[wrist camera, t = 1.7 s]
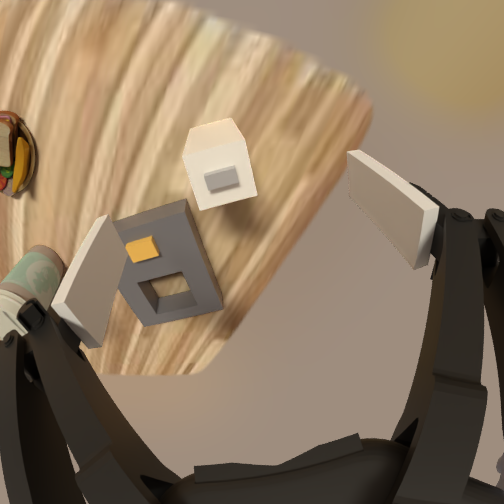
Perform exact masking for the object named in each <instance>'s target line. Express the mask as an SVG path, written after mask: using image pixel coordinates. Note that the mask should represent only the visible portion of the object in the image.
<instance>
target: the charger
mask: <svg viewBox="0 0 504 504" xmlns="http://www.w3.org/2000/svg"><path fill="white" fill-rule="evenodd" d="M182 158H183V161H184V164H185V167H186V170H187V173H188V176H189V179H190V182H191V186H192V189H193V192H194V195H195V198H196V200H197V203H198V206H199V209H200V211H201V210H205V209H208V208H212V207H216V206H219V205H223V204H227V203H230V202H234V201H238V200H242V199H246V198H250V197H254V196H258V195H257V191H256V186H255V182H254V177H253V173H252V169H251V164H250V160H249V155H248V151H247V147H246V142H245V139H244V137H243V136H242V134H241V132H240V131H239V129H238V128H237V126H236V124H235V123H234V121H233V120H232V118H227V119H223V120H219V121H215V122H212V123H208V124H204V125H201V126H197V127H194V128H190V131H189V134H188V137H187V141H186V144H185V148H184V151H183V155H182Z"/></svg>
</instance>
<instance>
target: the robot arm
mask: <svg viewBox="0 0 504 504" xmlns="http://www.w3.org/2000/svg"><path fill="white" fill-rule="evenodd" d="M347 163H348V179H349V197H350V198H351V199H352V200H353V201H354V202H355V203H356V204H357V206H358V207H359V208H360V209H361V210H362V211H363V212H364V213H365V214H366V215H367V216H368V217H369V218H370V219H371V220H372V222H373V223H374V224H375V225H376V226H377V227H378V228H379V229H380V230H381V232H382V233H383V234H384V235H385V236H386V237H387V238H388V240H389V241H390V242H391V243H392V244H393V245H394V247H395V248H396V249H397V250H398V251H399V253H400V254H401V255H402V256H403V257H404V259H405V260H406V261H407V262H408V263H409V265H410V266H411V267H412V268H413V270H415V269H418V268H421V267H423V266H426V265H428V262H429V257H430V253H431V254H432V255H433V256H434V257H435V258H436V260H435V264H434V268H433V271H432V275H431V278H430V279H431V280H433V281H432V289H431V297H430V304H429V311H428V317H427V323H426V328H425V333H424V338H423V343H422V348H421V352H420V357H419V361H418V365H417V369H416V373H415V376H414V380H413V384H412V387H411V391H410V394H409V397H408V400H407V403H406V406H405V409H404V412H403V414H402V417H401V418H400V420H399V422H398V424H397V426H396V429H395V431H394V433H393V436H392V438H391V440H390V441H389V440H385V439H377V438H370V439H369V438H366V439H360V437H359V434H358V433H356V434H353V435H351V436H347V437H344V438H341V439H338V440H335V441H332V442H329V443H325V444H322V445H318V446H316V447H314V448H313V449H311V450H309V451H307V452H305V453H303V454H301V455H299V456H297V457H295V458H293V459H291V460H289V461H286V462H284V463H282V464H280V465H276V466H269V465H252V464H240V463H226V464H215V465H203V466H194V474H191V475H189V476H187V477H184V478H183V479H181V478H180V477H179V476H178V475H176V474H175V473H174V472H172V471H171V470H169V469H168V468H167V467H165V466H164V465H163V464H162V463H161V462H160V461H159V460H158V459H157V457H156V456H155V455H154V454H153V453H152V451H151V450H150V449H149V448H148V447H147V445H146V444H145V443H144V442H143V441H142V439H141V438H140V437H139V436H138V434H137V433H136V432H135V431H134V429H133V428H132V427H131V425H130V424H129V422H128V421H127V420H126V418H125V417H124V416H123V414H122V413H121V411H120V410H119V409H118V407H117V406H116V404H115V403H114V401H113V400H112V398H111V397H110V395H109V394H108V392H107V391H106V389H105V388H104V386H103V385H102V383H101V381H100V380H99V378H98V376H97V375H96V373H95V371H94V370H93V368H92V366H91V364H90V363H89V361H88V359H87V357H86V356H85V354H84V352H83V351H82V350H81V349H80V348H79V345H80V342H81V341H82V342H83V343H84V344H85V345H86V346H87V347H88V349H91V348H98V347H102V344H103V340H104V336H105V332H106V328H107V324H108V320H109V316H110V312H111V309H112V305H113V301H114V298H115V294H116V291H117V288H118V284H119V281H120V278H121V275H122V272H123V268H124V265H125V262H126V259H127V256H128V252H127V250H126V248H125V246H124V244H123V242H122V241H121V239H120V237H119V235H118V233H117V231H116V229H115V227H114V225H113V223H112V221H111V219H110V217H109V215H108V214H107V215H104V216H101V217H99V218H97V219H96V221H95V222H94V224H93V226H92V227H91V229H90V231H89V232H88V234H87V236H86V237H85V239H84V241H83V243H82V244H81V246H80V248H79V250H78V252H77V253H76V255H75V257H74V259H73V261H72V263H71V265H70V267H69V268H68V270H67V272H66V274H65V276H64V277H63V278H62V280H61V282H60V284H59V286H58V288H57V290H56V292H55V294H54V296H53V298H52V300H51V303H50V305H49V307H48V309H47V311H46V310H45V309H44V307H43V306H42V305H41V304H40V302H39V301H38V300H37V299H36V298H31V299H29V300H28V301H26V302H25V303H24V304H23V305H22V306H21V308H20V309H19V311H18V313H17V317H16V319H17V320H18V321H19V323H20V324H21V325H22V326H23V327H24V328H25V329H26V330H27V332H28V333H27V334H25V335H23V336H21V335H20V334H19V332H18V331H17V330H15V329H13V330H11V331H10V332H8V333H7V334H6V335H5V336H4V338H3V341H2V340H0V454H1V462H2V468H3V474H4V480H5V485H6V489H7V494H8V498H9V502H10V504H86V502H85V499H84V497H85V498H86V500H87V501H88V503H89V504H504V453H503V455H502V456H501V457H500V458H499V460H498V462H497V466H496V468H497V471H498V472H499V473H501V475H500V479H499V481H498V483H497V485H496V487H495V486H492V485H490V484H487V483H484V482H482V481H479V480H477V479H474V478H472V477H469V475H470V472H471V469H472V466H473V462H474V459H475V455H476V452H477V448H478V444H479V440H480V436H481V431H482V426H483V421H484V416H485V411H486V405H487V393H488V392H487V388H486V387H485V386H483V385H481V369H482V359H483V344H484V305H485V309H486V313H487V317H488V321H489V326H490V330H491V335H492V339H493V345H494V350H495V356H496V362H497V369H498V377H499V387H500V397H501V415H502V430H503V436H504V212H503V211H500V210H499V209H493V208H492V209H488V210H487V211H486V214H485V219H474V218H473V216H472V215H471V214H470V213H468V212H466V211H465V210H462V209H458V208H452V209H448V208H447V207H446V206H445V205H443V204H442V203H441V202H440V201H438V200H437V199H436V198H434V197H432V195H430V194H429V193H427V192H426V191H425V190H424V189H423V188H421V187H420V186H418V185H415V184H413V183H408V182H407V181H405V180H404V179H402V178H401V177H400V176H398V175H396V174H395V173H394V172H392V171H391V170H390V169H388V168H387V167H385V166H384V165H382V164H381V163H379V162H378V161H376V160H374V159H373V158H372V157H370V156H368V155H367V154H365V153H364V152H362V151H361V150H354V151H347ZM66 442H67V443H66ZM67 444H68V446H69V448H70V450H71V452H72V454H73V456H74V458H75V460H76V462H77V464H78V465H79V468H80V471H79V472H77V473H76V474H75V471H74V468H73V465H72V462H71V458H70V454H69V451H68V447H67ZM82 493H83V494H82ZM83 495H84V497H83Z"/></svg>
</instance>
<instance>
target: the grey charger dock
mask: <svg viewBox="0 0 504 504" xmlns="http://www.w3.org/2000/svg"><path fill="white" fill-rule="evenodd" d="M112 223H113V225H114V227H115V229H116V231H117V233H118V235H119V237H120V239H121V241H122V242H123V244H124V246H125V248H126V250H127V252H128V256H127V259H126V262H125V265H124V268H123V272H122V275H121V278H120V281H119V284H118V289H119V291H120V292H121V294H122V295H123V297H124V298H125V300H126V301H127V303H128V304H129V306H130V307H131V309H132V310H133V312H134V313H135V314H136V316H137V317H138V319H139V320H140V321H141V323H142V324H143V326H144V327H146V326H150V325H155V324H160V323H165V322H170V321H174V320H179V319H183V318H188V317H192V316H197V315H201V314H205V313H210V312H214V311H218V310H222V309H223V302H222V293H221V290H220V288H219V285H218V283H217V280H216V278H215V275H214V272H213V270H212V267H211V265H210V262H209V259H208V257H207V254H206V252H205V249H204V246H203V244H202V241H201V238H200V236H199V233H198V230H197V227H196V225H195V222H194V219H193V216H192V214H191V211H190V208H189V205H188V202H187V200H186V199H183V200H180V201H176V202H173V203H170V204H167V205H163V206H160V207H157V208H154V209H151V210H148V211H145V212H142V213H139V214H136V215H133V216H130V217H127V218H124V219H121V220H118V221H115V222H112ZM180 271H182V273H183V275H184V277H185V279H186V281H187V283H188V286H189V288H190V291H186V292H182V293H178V294H174V295H169V296H165V297H161V298H158V296H157V294H156V293H155V291H154V289H153V287H152V286H151V284H150V282H149V280H150V279H153V278H157V277H161V276H165V275H169V274H173V273H176V272H180Z"/></svg>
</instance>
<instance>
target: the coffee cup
mask: <svg viewBox="0 0 504 504" xmlns="http://www.w3.org/2000/svg"><path fill="white" fill-rule="evenodd" d="M62 274H63V264H62V261H61V259H60V258H59V256H58V255H57V254H56V253H55V252H54V251H53V250H52V249H50V248H48V247H46V246H43V245H37V246H34V247H32V248H31V249H30V251H29V252H28V253H27V254H26V255H25V256H24V257H23V258H22V259H21V260H20V261H19V262H18V264H17V265H16V266H15V267H14V268H13V269H12V270H11V272H10V273H9V274H8V275H7V276H6V277H5V279H4V280H3V281H2V282H1V283H0V339H1V340H2V341H3V338H4V336H5V335H6V334H7V333H8V332H10V331H11V330H13V329H15V330H17V331H18V332H19V334H20V335H21V336H23V335H25V334H27V333H28V332H27V330H26V329H25V328H24V327H23V326H22V325H21V324H20V323H19V321H18V320H17V319H16V317H17V313H18V311H19V309H20V308H21V306H22V305H23V304H24V303H25V302H26V301H28V300H29V299H31V298H36V299H37V300H38V301H39V302H40V304H41V305H42V306H43V307H44V309H45V310H46V311H47V309H48V307H49V305H50V303H51V300H52V298H53V296H54V294H55V292H56V290H57V288H58V286H59V283H60V280H61V277H62Z"/></svg>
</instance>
